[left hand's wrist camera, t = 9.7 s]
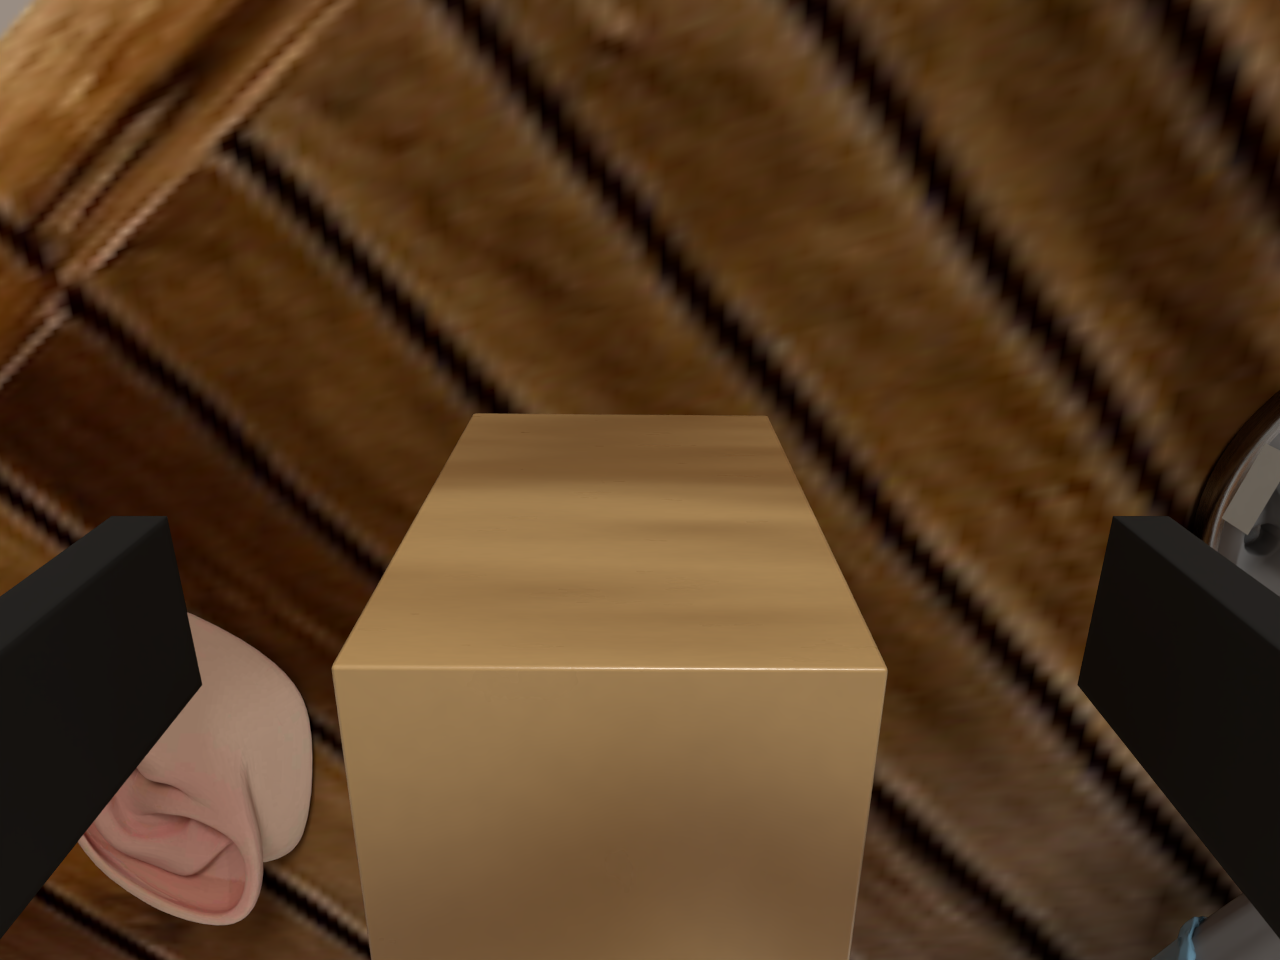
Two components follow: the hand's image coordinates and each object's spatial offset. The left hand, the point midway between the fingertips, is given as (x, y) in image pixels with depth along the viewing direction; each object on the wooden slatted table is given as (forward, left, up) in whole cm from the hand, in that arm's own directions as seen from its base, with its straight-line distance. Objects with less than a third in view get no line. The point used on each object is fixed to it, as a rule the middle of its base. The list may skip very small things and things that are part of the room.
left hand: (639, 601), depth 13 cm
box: (-7, +7, -7) cm, 12 cm away
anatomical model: (0, +27, -21) cm, 35 cm away
